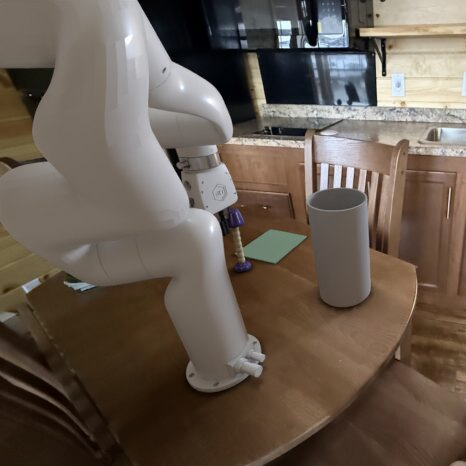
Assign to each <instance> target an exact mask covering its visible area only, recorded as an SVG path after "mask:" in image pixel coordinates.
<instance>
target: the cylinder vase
mask: <svg viewBox="0 0 466 466" xmlns="http://www.w3.org/2000/svg"><path fill="white" fill-rule="evenodd" d="M306 209H307V215H308V222H309V229H310V237H311V244H312V251H313V256H314V263H315V270H316V276H317V277H316V278H317V285H318V292H319V296H320V298H321V300H322V301H323V302H324V303H326V304H327V305H329V306H331V307H334V308H335V307H336V308H349V307H354V306H356V305H358V304H361V303H362V302H364V301H365V300H366V299H367V298H368V297H369V295H370V293H371V289H372V285H371V284H372V283H371V257H370V255H371V254H370V235H369V232H370V231H369V210H368V209H369V208H368V196H367V193H365V192H363V191H362V190H359V189H357V188H351V187H331V188H324V189H321V190H317V191H315V192H313V193H311V194H309V196H307V198H306Z"/></svg>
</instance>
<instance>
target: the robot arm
mask: <svg viewBox="0 0 466 466" xmlns="http://www.w3.org/2000/svg"><path fill="white" fill-rule="evenodd" d="M0 69H53V73H52V77H51V80H50V83H49V85H48V87H47V90H46V91H45V93H44V95H43V96H42V98H41V99H40V101H39V103H38V106H37V108H36V110H35V113H34V117H33V122H32V128H31V136H32V139H33V143H34V145H35V147H36V148H37V150H38V151H39V152H40V154H41V155H42V156H43V158H44V159H45V160H46V161H38V162H32V163H27V164H23V165H19V166H16V167H14V168H11V169H10V170H8V171H6V172H5V173H4V174H2V175H1V176H0V223H1V225H2V226H3V228H4V229H5V231H6V232H7V233H8V234H9V235H10V237H11V238H13V240H14V241H16V242H17V243H18V244H20V246H22V247H24V248H25V249H26V250H28V251H30V252H31V253H32V254H34V255H36V256H37V257H39V258H41V259H42V260H44V261H46V262H48V263H49V264H51V265H53V266H55V267H56V268H58V269H60V270H62V271H63V272H64V273H66V274H68V275H70V276H72V277H74V279H77V280H79V281H81V282H82V283H85V284H87V285H91V286H94V287H113V286H119V285H125V284H131V283H137V282H143V281H148V280H153V279H160V278H161V279H162V278H168V277H171V280H170V281H169V283H168V285H167V287H166V289H165V291H164V296H163V302H164V304H163V305H164V306H165V309H166V311H167V314H168V315H169V318H170V320H171V322H172V324H173V326H174V328H175V330H176V333H177V335H178V337H179V339H180V341H181V343H182V346H183V347H184V349H185V351H186V354H187V356H188V358H189V362H188V364H187V366H186V369H185V376H186V377H185V378H186V380H187V382H188V384H189V385H190V386H191V387H192V388H193V389H194V390H196V391H197V392H201V393H216V392H217V393H218V392H221V391H224V390H227V389H231V388H232V387H234V386H236V385H238V384H239V383H242V381H245V379H247V378H248V377H249V376H251V377H254V378H259V377H260V376H261V374H262V373H263V370H264V368H263V366H262V365H260V364H259V363H263V362H264V361H265V360H266V354H264V353H262V351H263V350H262V346H261V344H260V341H259V339H258V338H256V337H255V336H254V335H253V334H250V333H248V331H247V328H246V325H245V322H244V319H243V316H242V312H241V310H240V306H239V302H238V301H237V297H236V293H235V291H234V288H233V284H232V282H231V278H230V274H229V271H228V266H227V263H226V256H225V255H226V254H225V248H224V247H225V246H224V239H223V237H226V236H228V235H229V234H231V228H229V225H228V222H227V219H226V218H228V211H229V209H231V207H233V206H234V204H236V203H237V201H238V199H239V198H238V193H237V190H236V187H235V184H234V181H233V178H232V176H231V174H230V171H229V169H228V167H227V166H226V164H225V163H224V162H223V161H222V160H221V158H220V154H219V150H218V147H217V146H220V145H221V146H222V145H225V144H228V143H229V142H230V141H231V140H232V138H233V136H234V135H233V134H234V127H233V126H234V125H233V122H232V118H231V116H230V112H229V110H228V108H227V105H226V104H225V101H224V99H223V97H222V95H221V93H220V91H219V90H218V89H217V88H216V87H215V86H214V85H213V84H212V83H211V82H210V81H208V80H207V79H205V78H203V77H201V76H200V75H198V74H197V73H195V72H193V71H192V70H190V69H188V68H186V67H184V66H182V65H180V64H179V63H176V62H174V61H172V59H171V57H170V56H169V54H168V52H167V50H166V49H165V47H164V45H163V43H162V41H161V40H160V38H159V36H158V35H157V32H156V31H155V29H154V27H153V26H152V24H151V22H150V20H149V18H148V17H147V15H146V13H145V11H144V10H143V8H142V6H141V4H140V3H139V1H138V0H0ZM164 149H175V151H176V154H177V157H178V160H179V161H178V162H177V163H176V167H177V168H178V170H182V171H180V173H181V174H180V175H181V179H180V177H179V175H178V173H177V172H176V170H175V168H174V167H173V164H172V163H171V161H170V159H169V158H168V156H167V155H166V153H165V151H164Z"/></svg>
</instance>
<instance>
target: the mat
mask: <svg viewBox="0 0 466 466" xmlns="http://www.w3.org/2000/svg"><path fill="white" fill-rule="evenodd" d="M307 237H308V236H307V235H302V234H297V233H293V232H287V231H283V230H278V229H272V228H270V229H268V230H267V231H265V232H263V234H261V235H259V236H258V237H257V238H255V239H254V240H252V241H251V242H249V243H248V244H247V245H245V246H243V253H244V258H245V259H251V260H255V261H259V262H263V263H269V264H271V265H276V264H277V263H279V261H280V260H282V259H283V258H284V257H285V256H286V255H288V254H289V253H290V252H291V251H293V250H294V249H295V248H296V247H297V246H298V245H300V244H301V243H302V242H303V241H304V240H306V238H307ZM234 256H237V252H236V251H235V253H234Z"/></svg>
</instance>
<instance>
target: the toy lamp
mask: <svg viewBox="0 0 466 466" xmlns="http://www.w3.org/2000/svg"><path fill="white" fill-rule="evenodd" d="M226 219H227V222H228V225H229V229H230V230H231V231H232V233H231V235H232V236H233V239H232V240H233V242H234V247H235V253H236V252H237V255H236V257H237V262H236V263H235V265H234V267H233V268H234V269H233V270H234V272H237V273H244V272H246V271H249V270H250V269H252V264H251V263H250V262H249V261H247V260H246V257H244V253H243V248H244V246H243V242H242V241H241V240H242V237H241V232H240V227H243V226H244V225H245V220H244V218H243V216H242V214H241V212H240V210H239V209H238V208H229V211H228V218H226Z"/></svg>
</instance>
